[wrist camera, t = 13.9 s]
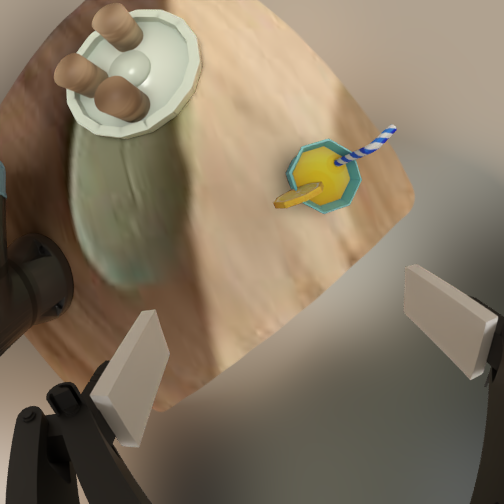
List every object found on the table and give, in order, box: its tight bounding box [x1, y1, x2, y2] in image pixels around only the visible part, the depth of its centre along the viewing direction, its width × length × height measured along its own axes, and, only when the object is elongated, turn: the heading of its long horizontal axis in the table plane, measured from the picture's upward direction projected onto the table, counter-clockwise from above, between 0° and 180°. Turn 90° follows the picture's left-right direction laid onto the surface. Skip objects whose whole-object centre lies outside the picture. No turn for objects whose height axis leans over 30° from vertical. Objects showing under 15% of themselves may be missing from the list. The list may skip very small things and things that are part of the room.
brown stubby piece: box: [94, 76, 150, 123], centre depth 30 cm, size 5×5×8 cm
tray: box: [67, 10, 202, 139], centre depth 32 cm, size 20×20×2 cm
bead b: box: [92, 3, 143, 52], centre depth 27 cm, size 5×5×8 cm
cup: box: [273, 124, 396, 214], centre depth 31 cm, size 14×8×15 cm, turn 132°
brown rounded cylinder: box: [54, 53, 109, 98], centre depth 29 cm, size 5×5×8 cm
